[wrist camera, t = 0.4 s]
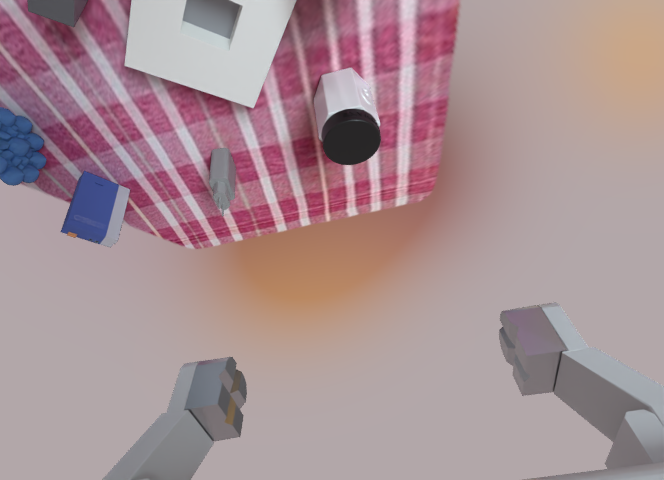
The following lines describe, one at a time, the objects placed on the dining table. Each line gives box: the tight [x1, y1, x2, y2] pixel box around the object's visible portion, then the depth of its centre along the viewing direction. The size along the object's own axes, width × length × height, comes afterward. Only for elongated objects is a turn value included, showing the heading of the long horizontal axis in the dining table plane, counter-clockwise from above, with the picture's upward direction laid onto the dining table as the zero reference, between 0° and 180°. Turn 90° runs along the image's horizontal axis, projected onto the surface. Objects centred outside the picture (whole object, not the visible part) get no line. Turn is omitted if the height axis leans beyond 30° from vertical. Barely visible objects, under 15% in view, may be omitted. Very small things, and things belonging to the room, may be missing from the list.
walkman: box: [61, 171, 130, 247], centre depth 69 cm, size 8×3×12 cm, turn 46°
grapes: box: [0, 107, 47, 186], centre depth 57 cm, size 12×7×12 cm, turn 3°
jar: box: [314, 68, 381, 165], centre depth 60 cm, size 9×8×12 cm
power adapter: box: [209, 148, 236, 216], centre depth 68 cm, size 3×5×12 cm, turn 4°
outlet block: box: [125, 0, 296, 108], centre depth 50 cm, size 20×17×4 cm
